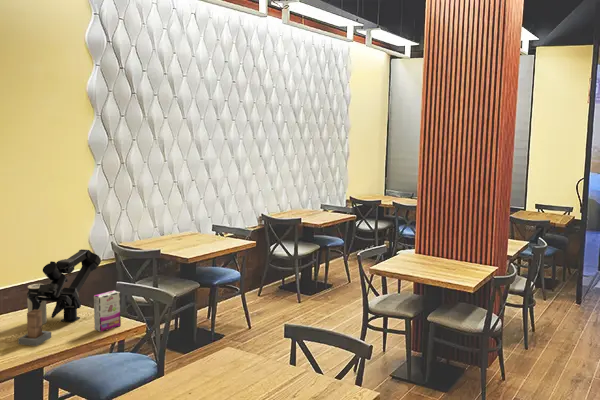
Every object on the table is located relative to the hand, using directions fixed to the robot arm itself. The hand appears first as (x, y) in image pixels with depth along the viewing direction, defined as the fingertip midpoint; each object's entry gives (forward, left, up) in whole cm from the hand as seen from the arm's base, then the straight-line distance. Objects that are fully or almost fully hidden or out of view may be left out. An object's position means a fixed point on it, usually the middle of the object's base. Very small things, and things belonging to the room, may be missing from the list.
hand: (42, 316), depth 254 cm
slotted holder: (+6, 0, -9) cm, 10 cm away
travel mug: (-14, -12, -9) cm, 21 cm away
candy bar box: (-16, +22, -9) cm, 29 cm away
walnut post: (+6, 0, -9) cm, 11 cm away
